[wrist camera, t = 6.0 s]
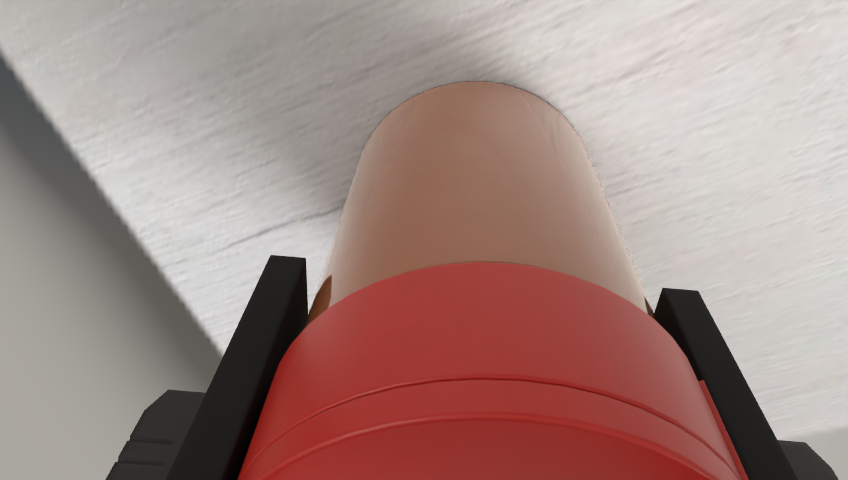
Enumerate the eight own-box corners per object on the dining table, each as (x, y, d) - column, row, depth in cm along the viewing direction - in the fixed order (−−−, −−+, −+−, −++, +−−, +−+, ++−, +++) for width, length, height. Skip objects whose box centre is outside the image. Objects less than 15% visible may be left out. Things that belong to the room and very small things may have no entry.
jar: (569, 298, 21) (661, 685, 11) (355, 282, 21) (264, 653, 11) (616, 89, 17) (816, 402, 8) (354, 71, 17) (218, 357, 8)
